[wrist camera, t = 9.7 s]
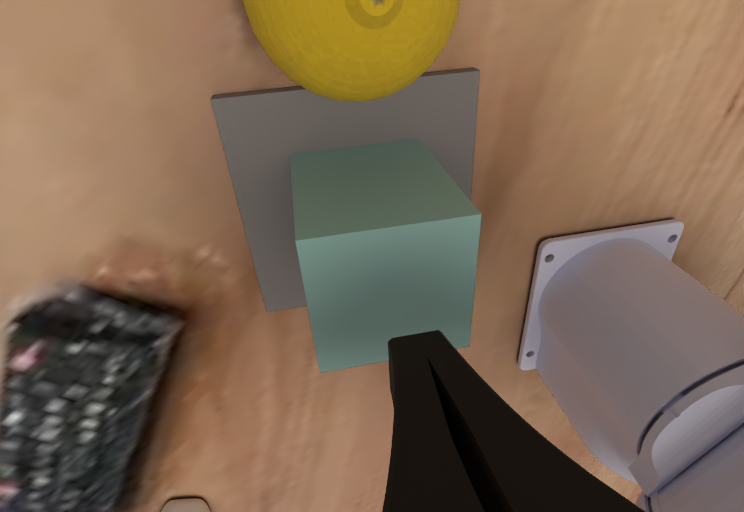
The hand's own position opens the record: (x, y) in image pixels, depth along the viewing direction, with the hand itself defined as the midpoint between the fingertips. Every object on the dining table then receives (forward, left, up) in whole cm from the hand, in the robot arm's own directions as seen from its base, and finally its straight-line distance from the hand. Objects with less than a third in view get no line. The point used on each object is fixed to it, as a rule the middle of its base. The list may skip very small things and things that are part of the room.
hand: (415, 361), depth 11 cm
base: (0, 0, -10) cm, 10 cm away
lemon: (+8, 0, -10) cm, 13 cm away
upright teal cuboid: (0, 0, -9) cm, 9 cm away
